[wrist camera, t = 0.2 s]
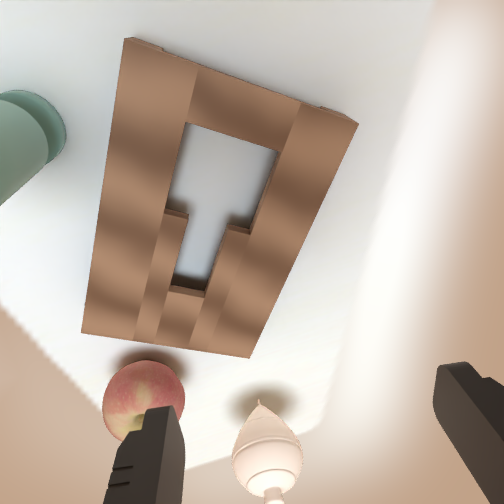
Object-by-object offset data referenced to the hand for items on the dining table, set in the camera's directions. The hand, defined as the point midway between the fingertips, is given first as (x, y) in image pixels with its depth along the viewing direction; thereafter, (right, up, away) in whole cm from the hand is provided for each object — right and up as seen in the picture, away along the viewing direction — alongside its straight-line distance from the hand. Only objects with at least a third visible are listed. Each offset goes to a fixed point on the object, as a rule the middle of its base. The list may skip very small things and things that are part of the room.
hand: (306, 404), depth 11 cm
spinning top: (-1, -14, +35) cm, 37 cm away
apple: (-13, -8, +30) cm, 33 cm away
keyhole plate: (-6, +7, +21) cm, 23 cm away
